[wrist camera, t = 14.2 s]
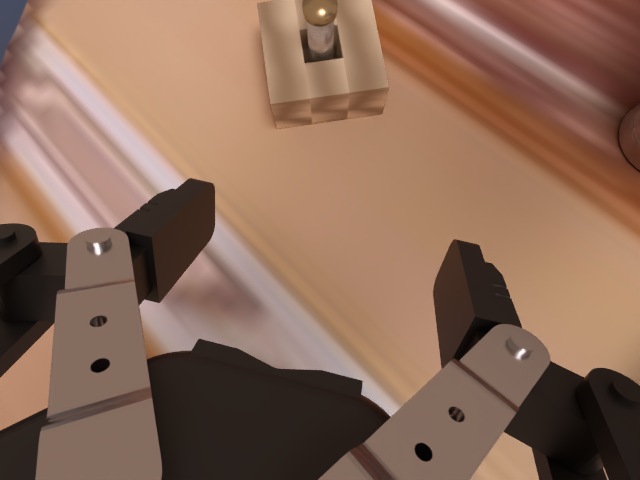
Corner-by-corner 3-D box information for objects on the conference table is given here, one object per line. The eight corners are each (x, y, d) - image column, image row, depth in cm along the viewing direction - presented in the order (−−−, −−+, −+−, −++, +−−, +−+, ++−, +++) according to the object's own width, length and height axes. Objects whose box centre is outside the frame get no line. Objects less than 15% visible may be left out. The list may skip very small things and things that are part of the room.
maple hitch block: (364, 23, 44) (368, -13, 40) (382, 113, 42) (389, 87, 37) (265, 37, 44) (257, 3, 39) (277, 128, 42) (270, 104, 37)
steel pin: (333, 61, 44) (334, -13, 34) (337, 85, 43) (340, 16, 33) (306, 65, 44) (299, -8, 34) (310, 89, 43) (304, 22, 33)
